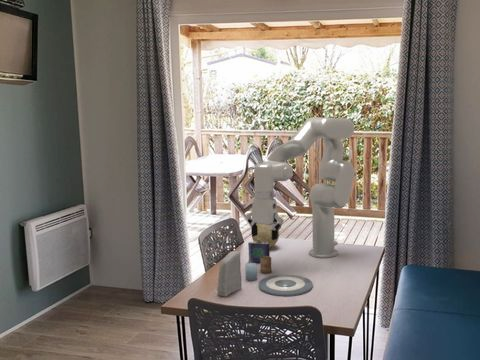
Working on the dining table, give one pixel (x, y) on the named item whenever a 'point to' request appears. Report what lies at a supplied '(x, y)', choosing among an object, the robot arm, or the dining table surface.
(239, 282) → the decorative stone
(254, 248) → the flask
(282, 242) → the dining table surface
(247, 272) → the smooth blue-gray rounded cylinder
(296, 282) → the plate
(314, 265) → the dining table surface
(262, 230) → the fossilized egg
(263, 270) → the brown rounded cylinder
